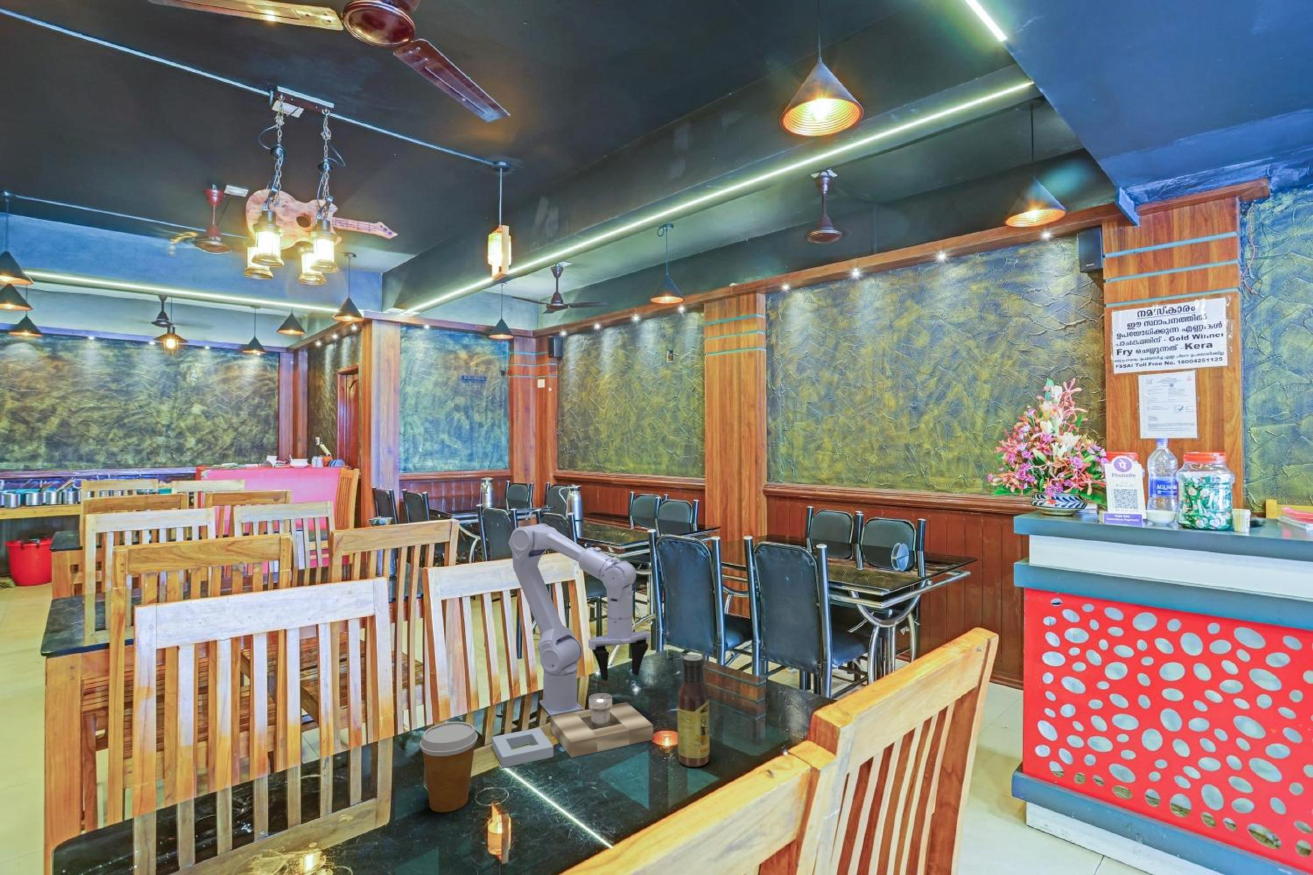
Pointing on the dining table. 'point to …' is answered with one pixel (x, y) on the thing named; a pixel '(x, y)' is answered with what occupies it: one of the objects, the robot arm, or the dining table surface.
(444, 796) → the disposable coffee cup
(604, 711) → the steel pin
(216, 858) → the dining table surface
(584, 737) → the dock
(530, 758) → the frame
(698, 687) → the sauce bottle
